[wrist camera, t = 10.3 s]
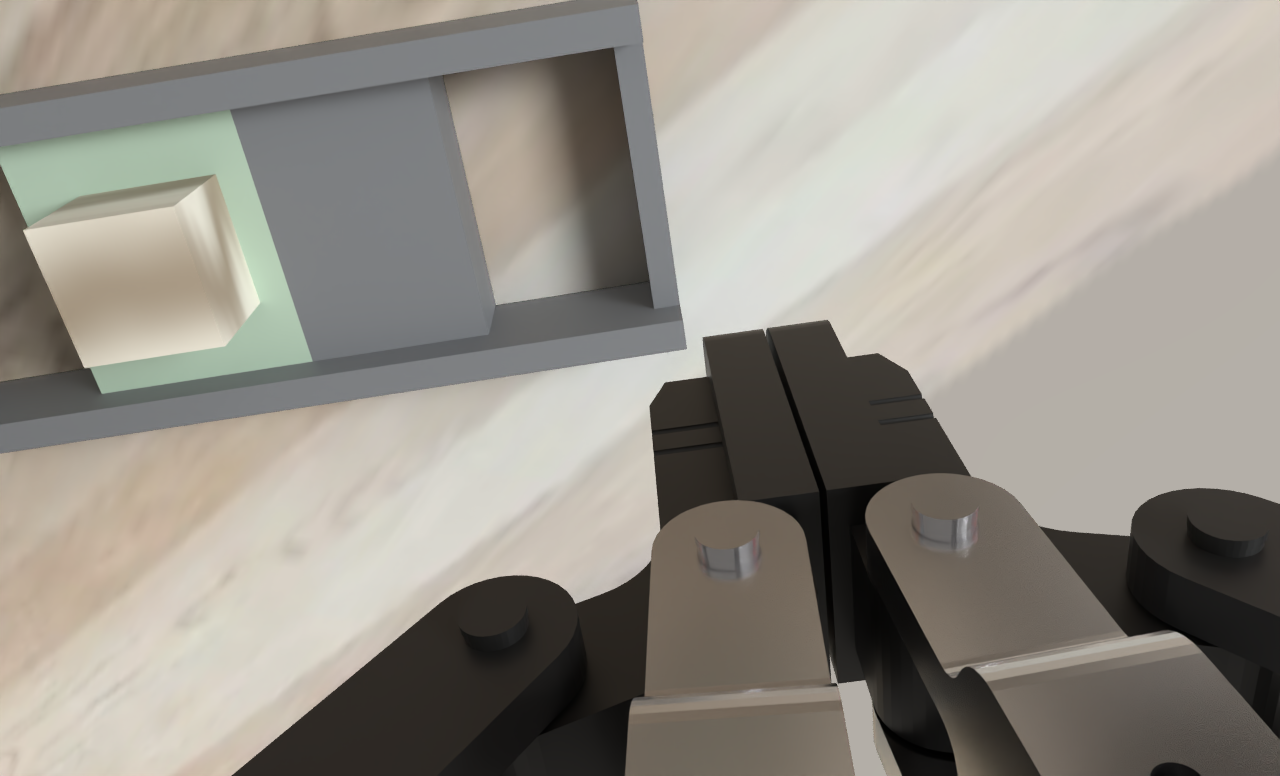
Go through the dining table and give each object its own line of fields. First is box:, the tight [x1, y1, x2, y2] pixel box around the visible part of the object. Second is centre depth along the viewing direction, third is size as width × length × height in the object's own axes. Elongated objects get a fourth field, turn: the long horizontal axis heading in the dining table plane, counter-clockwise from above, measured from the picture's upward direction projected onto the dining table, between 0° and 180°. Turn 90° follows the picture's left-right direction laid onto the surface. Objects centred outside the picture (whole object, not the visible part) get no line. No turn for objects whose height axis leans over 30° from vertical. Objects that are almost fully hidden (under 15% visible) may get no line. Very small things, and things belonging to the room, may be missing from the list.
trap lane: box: [0, 0, 687, 453], centre depth 38 cm, size 12×30×4 cm, turn 99°
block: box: [23, 174, 260, 368], centre depth 35 cm, size 5×5×4 cm
